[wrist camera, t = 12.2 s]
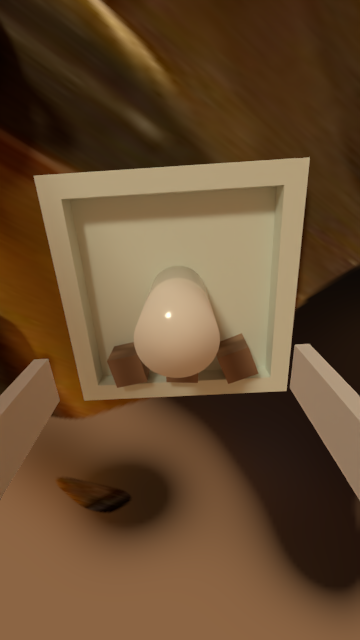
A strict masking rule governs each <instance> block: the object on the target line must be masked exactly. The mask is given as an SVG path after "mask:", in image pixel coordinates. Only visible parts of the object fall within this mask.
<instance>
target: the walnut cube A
mask: <svg viewBox="0 0 360 640" xmlns="http://www.w3.org/2000/svg"><path fill="white" fill-rule="evenodd" d="M107 363H108V365H109V368H110V371H111V373H112V376H113V378H114V381H115V384H116V386H117V388H119V387H124V386H129V385H134V384H139V383H144V382H147V381H148V376H149V371H150V369H149V368H148V367H147V366H145V364H144V363H143V362H142V361H141V360H140V358H139V357H138V355H137V352H136V350H135V346H134V342H132V343H127V344H122V345H118V346H114V348H113V350H112V352H111V354H110V356H109V358H108V360H107Z"/></svg>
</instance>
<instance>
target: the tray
mask: <svg viewBox="0 0 360 640" xmlns="http://www.w3.org/2000/svg"><path fill="white" fill-rule="evenodd" d="M309 161H310V157H308V158H293V159H278V160H263V161H248V162H233V163H218V164H203V165H188V166H173V167H158V168H143V169H128V170H112V171H97V172H82V173H67V174H52V175H37V176H34V180H35V185H36V189H37V194H38V198H39V202H40V207H41V211H42V216H43V220H44V225H45V229H46V233H47V238H48V242H49V247H50V251H51V256H52V260H53V264H54V269H55V273H56V278H57V282H58V287H59V291H60V295H61V300H62V304H63V309H64V313H65V317H66V322H67V326H68V331H69V335H70V340H71V344H72V348H73V353H74V357H75V362H76V366H77V371H78V375H79V379H80V384H81V388H82V393H83V397H84V401H87V400H108V399H129V398H150V397H171V396H192V395H213V394H234V393H254V392H276V391H286V390H287V381H288V371H289V360H290V350H291V341H292V331H293V321H294V311H295V301H296V291H297V281H298V271H299V261H300V251H301V241H302V231H303V221H304V211H305V201H306V191H307V181H308V171H309ZM172 266H185V267H188V268H190V269H192V270H194V271H195V272H196V273H198V274H199V276H200V277H201V278H202V280H203V282H204V285H205V288H206V291H207V294H208V297H209V301H210V304H211V307H212V310H213V313H214V316H215V320H216V323H217V326H218V329H219V334H220V341H223V340H225V339H228V338H231V337H233V336H236V335H238V334H241V333H242V335H243V337H244V339H245V341H246V343H247V345H248V347H249V349H250V352H251V355H252V357H253V360H254V362H255V365H256V368H257V370H258V373H259V374H256V375H253V376H250V377H247V378H244V379H242V380H239V381H236V382H233V383H230V384H228V382H227V380H226V378H225V375H224V373H223V371H222V368H221V366H220V364H219V362H218V359H217V356H215V358H214V360H213V361H212V362H211V363H210V364H209V366H207V367H206V368H205V369H204V370H202V371H201V372H199V373H198V383H177V382H166V376H162V375H159V374H157V373H155V372H153V371H152V370H150V371H149V376H148V381H147V382H144V383H139V384H134V385H129V386H124V387H119V388H117V386H116V384H115V381H114V378H113V376H112V373H111V371H110V368H109V365H108V363H107V360H108V358H109V356H110V354H111V352H112V350H113V348H114V346H118V345H122V344H127V343H132V342H134V332H135V328H136V325H137V323H138V320H139V317H140V315H141V312H142V310H143V307H144V304H145V302H146V299H147V297H148V294H149V291H150V289H151V286H152V284H153V281H154V279H155V278H156V276H157V275H158V274H159V273H160V272H161V271H163V270H164V269H166V268H169V267H172Z"/></svg>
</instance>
